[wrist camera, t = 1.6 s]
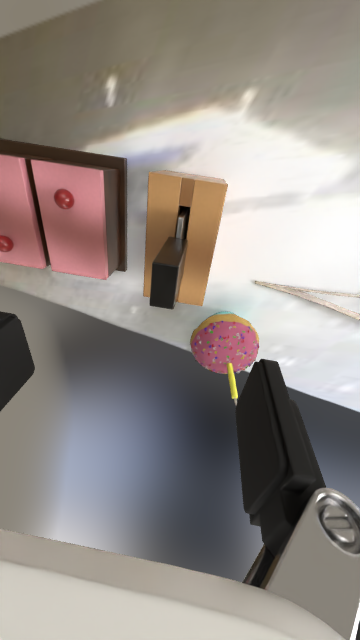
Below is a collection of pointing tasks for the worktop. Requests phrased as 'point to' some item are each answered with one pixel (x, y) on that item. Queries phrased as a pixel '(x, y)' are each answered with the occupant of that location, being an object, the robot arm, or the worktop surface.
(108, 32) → the worktop surface
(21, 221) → the pink double-door cabinet
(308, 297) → the tweezers
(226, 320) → the cupcake
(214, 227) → the knife block
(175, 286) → the knife
